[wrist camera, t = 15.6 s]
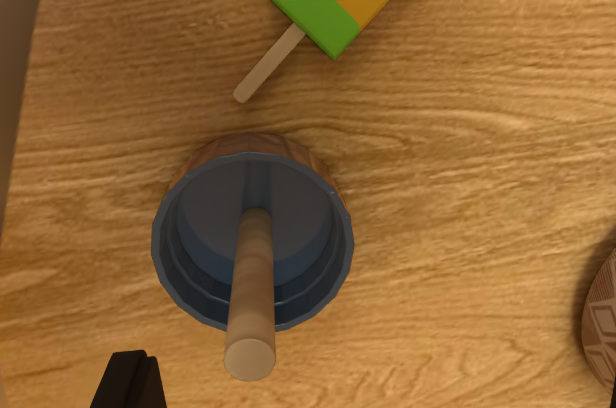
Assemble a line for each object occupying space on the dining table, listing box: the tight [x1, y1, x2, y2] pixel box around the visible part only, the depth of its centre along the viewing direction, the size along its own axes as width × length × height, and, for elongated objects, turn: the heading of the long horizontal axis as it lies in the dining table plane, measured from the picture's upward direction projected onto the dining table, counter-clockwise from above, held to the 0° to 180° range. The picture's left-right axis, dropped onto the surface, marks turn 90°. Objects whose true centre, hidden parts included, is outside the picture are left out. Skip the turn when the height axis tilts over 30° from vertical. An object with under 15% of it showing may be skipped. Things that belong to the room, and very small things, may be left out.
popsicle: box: [233, 0, 389, 103], centre depth 32 cm, size 6×15×2 cm, turn 137°
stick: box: [224, 207, 276, 382], centre depth 30 cm, size 2×2×15 cm
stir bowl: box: [151, 133, 354, 332], centre depth 35 cm, size 12×12×5 cm
